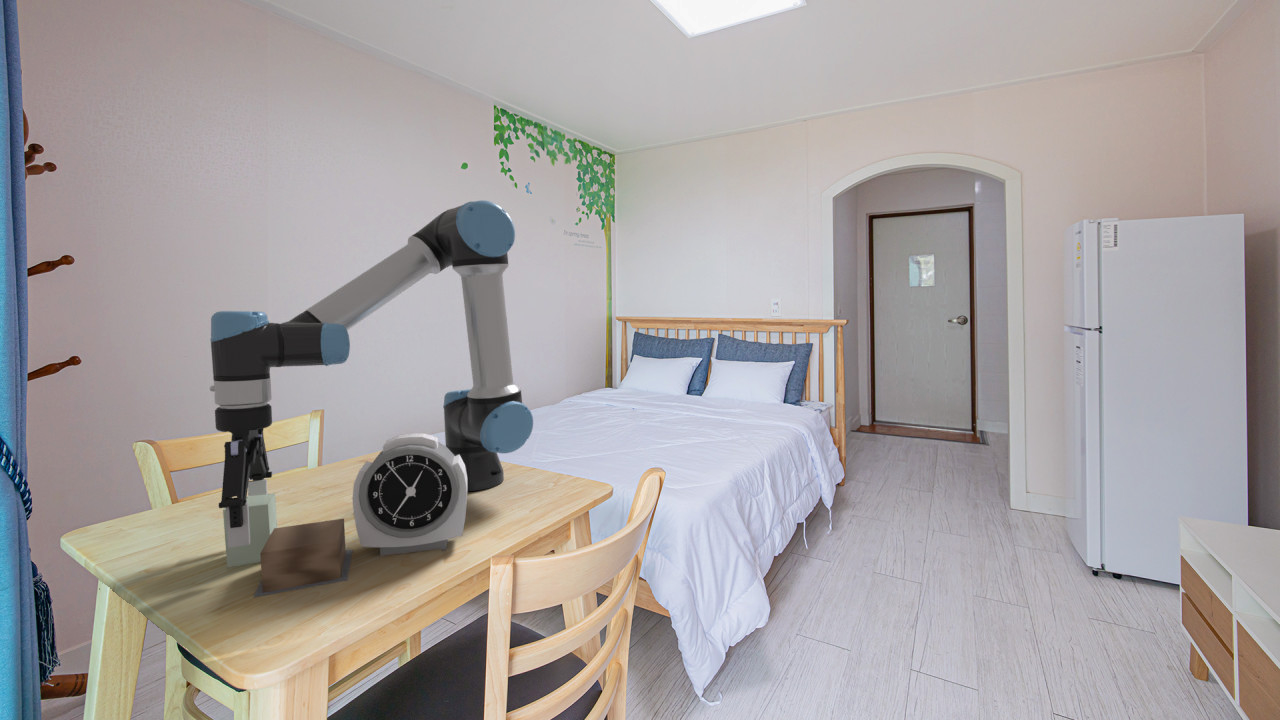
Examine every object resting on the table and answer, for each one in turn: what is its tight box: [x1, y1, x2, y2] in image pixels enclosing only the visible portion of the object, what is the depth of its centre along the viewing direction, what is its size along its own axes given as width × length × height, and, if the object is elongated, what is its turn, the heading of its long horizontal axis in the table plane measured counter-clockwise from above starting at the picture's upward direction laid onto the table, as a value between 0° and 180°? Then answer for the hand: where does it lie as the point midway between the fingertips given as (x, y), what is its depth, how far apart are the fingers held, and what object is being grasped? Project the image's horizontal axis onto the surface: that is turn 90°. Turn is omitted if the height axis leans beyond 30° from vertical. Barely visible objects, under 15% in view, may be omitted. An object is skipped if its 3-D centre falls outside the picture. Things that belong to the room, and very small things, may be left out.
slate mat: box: [252, 548, 353, 599], centre depth 85 cm, size 12×12×1 cm
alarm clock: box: [351, 432, 468, 557], centre depth 94 cm, size 18×8×20 cm, turn 106°
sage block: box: [222, 492, 278, 568], centre depth 90 cm, size 6×6×10 cm
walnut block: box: [260, 518, 347, 593], centre depth 85 cm, size 10×10×6 cm
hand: (249, 530), depth 90 cm, fingers open, 13 cm apart
